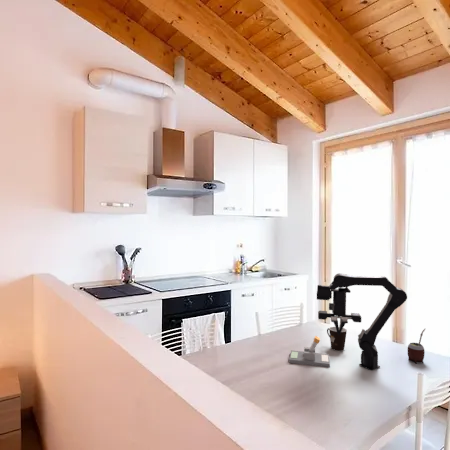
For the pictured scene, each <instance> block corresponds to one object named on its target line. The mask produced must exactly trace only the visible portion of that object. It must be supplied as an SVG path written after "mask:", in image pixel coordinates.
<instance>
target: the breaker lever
mask: <svg viewBox="0 0 450 450" xmlns="http://www.w3.org/2000/svg"><path fill="white" fill-rule="evenodd" d="M320 341H321V338H320V337H319V336H318V335H317V336H316V335H315V336H314V338H313V342H312V343H311V345H310V347H309V348H310V349H309V351H308V352H313V351H314V349H315V350H316V347H317V345H319V343H320Z"/></svg>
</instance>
